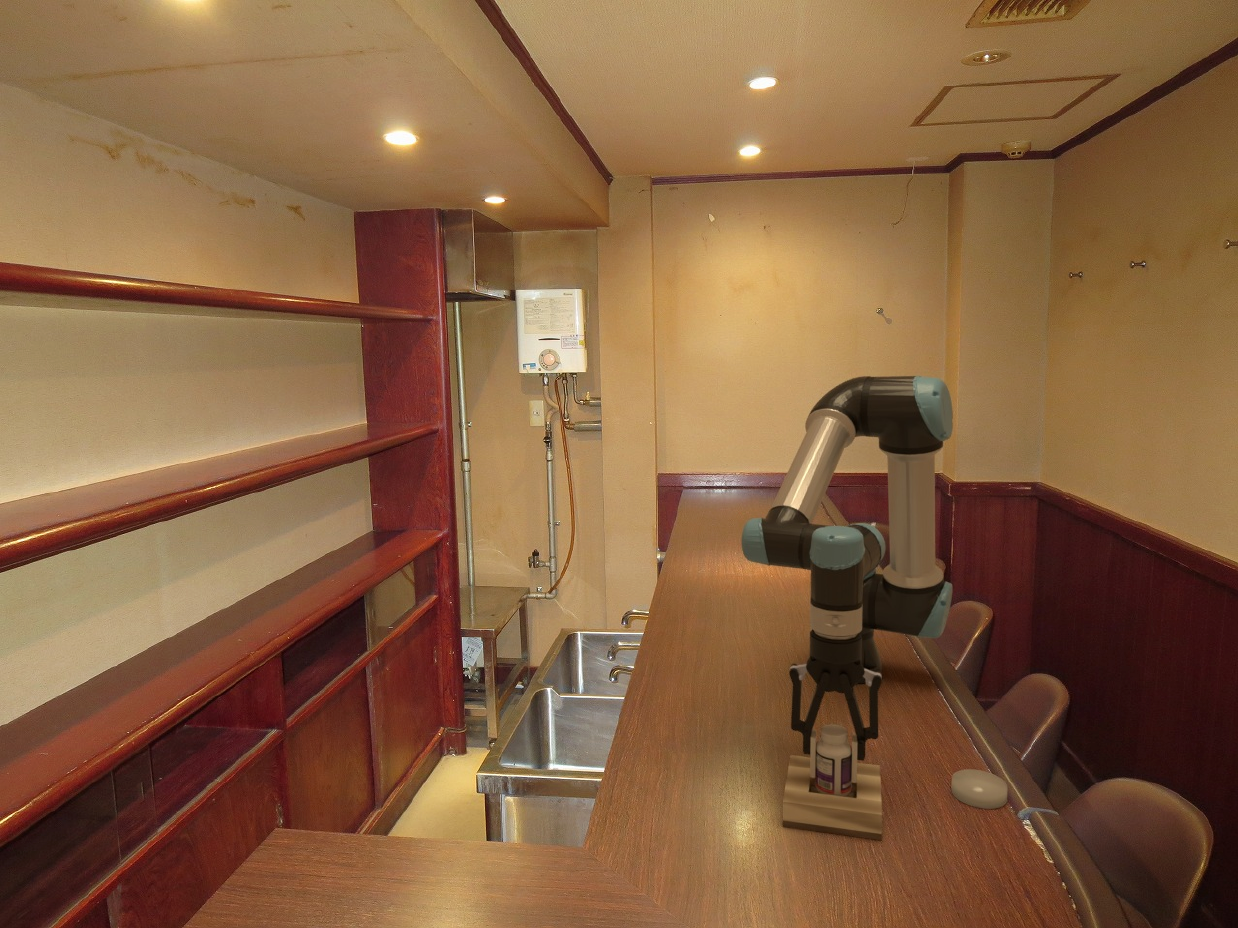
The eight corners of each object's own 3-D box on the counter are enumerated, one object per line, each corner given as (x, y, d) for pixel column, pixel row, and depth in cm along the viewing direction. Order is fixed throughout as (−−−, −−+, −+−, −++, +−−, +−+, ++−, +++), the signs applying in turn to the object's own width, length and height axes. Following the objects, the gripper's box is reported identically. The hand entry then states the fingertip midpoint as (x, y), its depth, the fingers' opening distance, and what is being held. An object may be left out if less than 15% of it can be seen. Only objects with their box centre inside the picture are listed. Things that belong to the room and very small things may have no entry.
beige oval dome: (948, 777, 133) (949, 766, 133) (1002, 784, 131) (1002, 772, 131) (954, 804, 126) (954, 792, 125) (1011, 811, 123) (1011, 799, 123)
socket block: (790, 777, 135) (790, 754, 134) (879, 788, 131) (879, 765, 130) (782, 826, 121) (782, 801, 121) (881, 840, 117) (882, 814, 117)
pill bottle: (845, 779, 128) (846, 720, 127) (856, 798, 123) (857, 737, 121) (811, 780, 128) (811, 722, 127) (820, 799, 123) (821, 739, 121)
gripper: (770, 635, 121) (770, 780, 124) (902, 645, 115) (897, 796, 119) (775, 618, 128) (775, 756, 131) (899, 626, 123) (895, 770, 126)
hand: (833, 775), depth 125 cm, fingers closed on pill bottle, 5 cm apart
